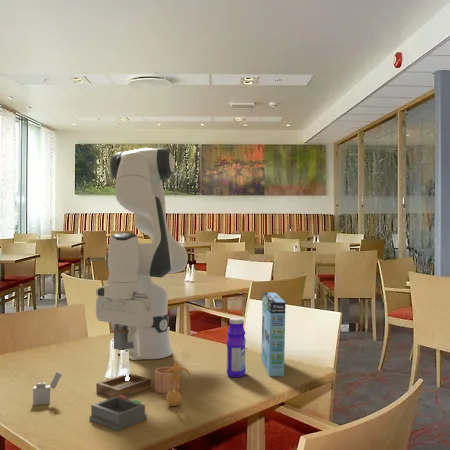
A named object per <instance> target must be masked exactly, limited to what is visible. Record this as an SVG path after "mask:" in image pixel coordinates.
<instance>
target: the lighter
mask: <svg viewBox="0 0 450 450" xmlns="http://www.w3.org/2000/svg"><path fill="white" fill-rule="evenodd" d="M62 375H63V372H62V371H59V370H57V371H56V372H55V374H54V377H53V379H52V381H51V383H50V384H49V385H47V383H46V382H38V383H36V384H35V386H33V387H32V405H33V406H38V405H40V406H41V405H49V404H51V389H54V390H55V389H56V387H57V385H58V384H59V382H60V379H61V377H62Z"/></svg>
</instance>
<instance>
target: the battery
mask: <svg viewBox="0 0 450 450" xmlns="http://www.w3.org/2000/svg"><path fill="white" fill-rule="evenodd" d="M128 332H129V330H128V326H124V325H121V326H118V327H114V331H113V348H114V349H117V350H125V349H129V348H133V342H126V341H125V336H126V335H128Z"/></svg>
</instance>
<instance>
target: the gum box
mask: <svg viewBox="0 0 450 450" xmlns="http://www.w3.org/2000/svg"><path fill="white" fill-rule="evenodd" d="M261 299H262V307H261V310H262V311H261V353H260V355H261V358H260V359H261V361H262V362H263V363H262V364H264V367H265V369H266V373H267V374H268V376H269V378H271V377H275V378H276V377H278V378H279V377H285V345H286V342H285V341H286V338H285V337H286V301H284V299H283V298H281V296H280V295H279V294H278V293H277V292H262V298H261Z"/></svg>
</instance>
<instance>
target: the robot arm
mask: <svg viewBox="0 0 450 450" xmlns="http://www.w3.org/2000/svg"><path fill="white" fill-rule="evenodd" d="M175 164H176V163H175V158H174V156H173V154H172V151H171V150H170V149H169V148H165V147H158V148H155V147H154V148H151V147H150V148H148V147H147V148H139V149H133V150H128V151H119V152H116V153H114V154H113V155H112V157H110V161H109V170H110V173H111V177H112V178H113V179H114V180H115V198H116V200H117V202H118V204H119V205H120V206H121V207H123V208H124V209H126V210H127V211H128V212H131V213H133V214H134V215H133V217H134V225H135V227H136V229H137V230H138V231H139V232H141V233H143V234H145V235H146V236H148V237H149V239H150V240H151V243H149V242H148V243H139V237H138V235H137V234H135V233H132V232H117V233H114V234H111V236H110V238H109V244H108V251H107V252H106V268H107V269H106V270H108V273H109V274H108V278H107V284H106V285H103V286H100V287H98V288H96V289H95V296H96V297H97V298H96V302H95V317H96V319H97V321H99V322H103V323H109V324H111V328H112V331H113V332H114V327H118V326H122V325H124V326H128V330H129V332H128V335H126V336H125V341H126V342H133V348H129V349H128V350H129V357H130V359H129V360H133V361H135V360H136V361H137V360H158V359H159V360H160V359H164V358H167V357H170V356H171V355H172V354H173V352H172V346H171V341H170V333H169V322H170V321H169V320H170V316H169V315H170V314H169V313H168V293H167V290H166V289H165V288H164V287H162V286H161V285H159V284H157V283H155V282H153V281H152V278H163V277H165V276H166V275H170V274H171V275H172V274H176V273H179V272H183V271H184V269H186V266H187V264H188V261H189V260H188V259H189V258H188V257H189V256H188V252H187V249H186V248H185V247H184V246H183V245H182V244H180V243H179V242H178V241H177V240H176V239H175V238H174V237H173V235H172V233H171V231H170V228H169V225H168V221H167V214H166V213H167V212H166V197H165V190H164V185H163V184H166V183H167V180H168V179H170V178H171V176H172V175H173V173H174V169H175ZM119 352H120V350H119Z"/></svg>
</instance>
